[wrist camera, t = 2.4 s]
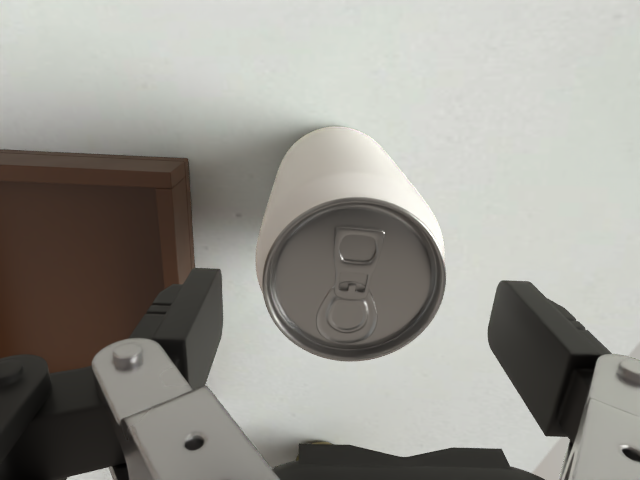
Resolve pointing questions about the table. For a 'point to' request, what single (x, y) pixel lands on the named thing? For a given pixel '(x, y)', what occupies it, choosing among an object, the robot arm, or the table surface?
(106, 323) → the tray
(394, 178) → the can
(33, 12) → the table surface
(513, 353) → the robot arm
